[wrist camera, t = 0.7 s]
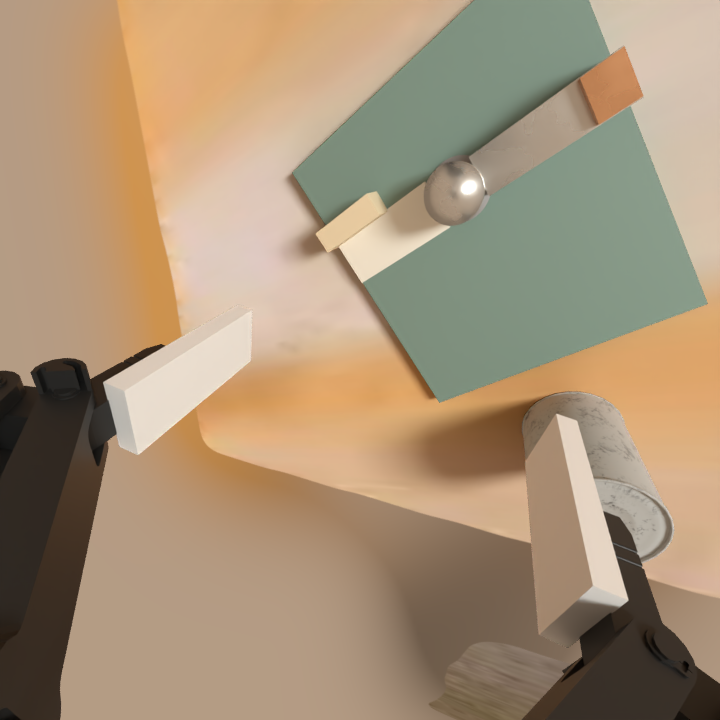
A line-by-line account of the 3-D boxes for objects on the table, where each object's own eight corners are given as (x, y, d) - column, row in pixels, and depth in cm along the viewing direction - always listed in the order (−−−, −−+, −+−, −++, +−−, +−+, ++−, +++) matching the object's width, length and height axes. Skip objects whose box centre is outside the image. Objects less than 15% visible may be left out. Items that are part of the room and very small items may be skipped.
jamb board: (297, 172, 35) (275, 173, 32) (555, -69, 23) (565, -110, 20) (440, 397, 42) (435, 418, 38) (700, 299, 30) (727, 317, 26)
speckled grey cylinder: (503, 415, 40) (505, 501, 30) (592, 375, 35) (631, 462, 25) (552, 475, 42) (570, 577, 31) (644, 445, 37) (701, 554, 26)
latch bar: (447, 229, 32) (441, 237, 29) (422, 183, 31) (412, 186, 28) (633, 112, 25) (654, 104, 21) (607, 47, 24) (625, 28, 20)
